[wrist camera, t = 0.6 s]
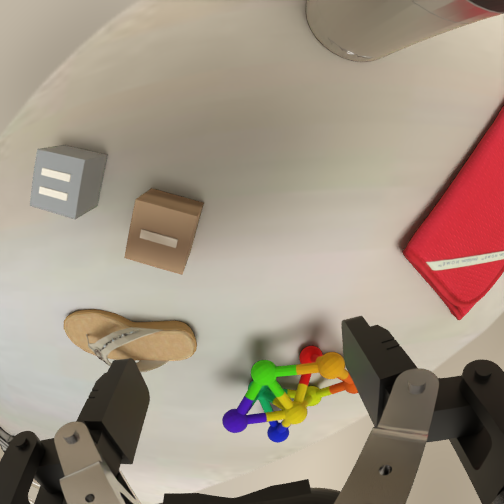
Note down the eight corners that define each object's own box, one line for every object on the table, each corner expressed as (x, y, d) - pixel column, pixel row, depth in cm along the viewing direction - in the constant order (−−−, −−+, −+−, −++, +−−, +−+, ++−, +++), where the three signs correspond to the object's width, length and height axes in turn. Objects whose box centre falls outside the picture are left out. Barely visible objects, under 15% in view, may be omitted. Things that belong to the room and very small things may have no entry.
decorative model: (376, 395, 33) (275, 468, 32) (336, 353, 40) (246, 417, 39) (356, 344, 26) (217, 442, 25) (305, 294, 33) (190, 377, 32)
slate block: (64, 145, 26) (36, 149, 21) (108, 154, 26) (83, 160, 21) (56, 193, 27) (28, 206, 22) (98, 205, 28) (74, 220, 23)
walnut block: (151, 188, 28) (134, 199, 23) (204, 202, 28) (197, 217, 24) (140, 238, 29) (123, 258, 24) (190, 252, 30) (181, 275, 25)
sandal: (64, 308, 32) (45, 331, 27) (192, 302, 32) (186, 330, 28) (82, 353, 34) (67, 379, 30) (202, 352, 35) (198, 383, 30)
